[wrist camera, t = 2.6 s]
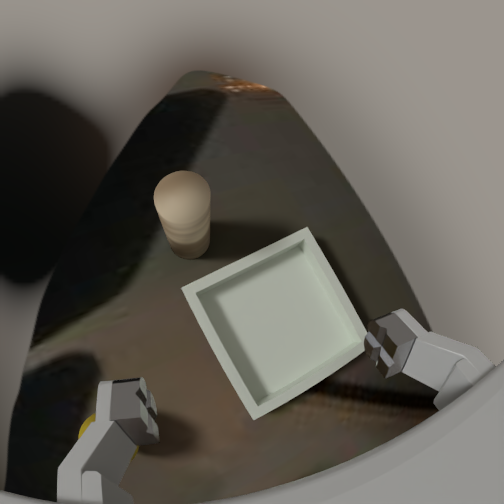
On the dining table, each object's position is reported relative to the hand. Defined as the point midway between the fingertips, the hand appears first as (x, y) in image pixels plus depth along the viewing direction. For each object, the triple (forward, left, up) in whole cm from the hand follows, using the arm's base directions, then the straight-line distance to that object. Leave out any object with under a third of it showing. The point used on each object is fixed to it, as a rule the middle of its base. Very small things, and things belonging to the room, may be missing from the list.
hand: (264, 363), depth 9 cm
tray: (0, -6, -20) cm, 21 cm away
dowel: (+12, -2, -20) cm, 24 cm away
